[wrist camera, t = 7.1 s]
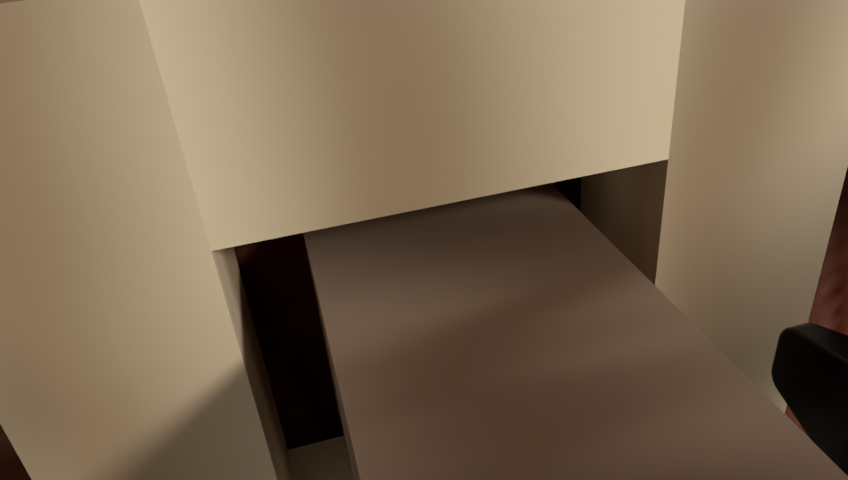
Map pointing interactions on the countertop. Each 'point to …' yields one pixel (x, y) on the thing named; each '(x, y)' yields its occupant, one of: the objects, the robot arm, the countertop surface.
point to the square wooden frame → (374, 185)
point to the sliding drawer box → (529, 356)
